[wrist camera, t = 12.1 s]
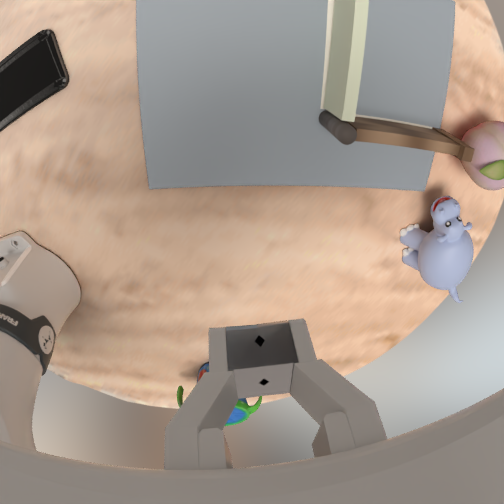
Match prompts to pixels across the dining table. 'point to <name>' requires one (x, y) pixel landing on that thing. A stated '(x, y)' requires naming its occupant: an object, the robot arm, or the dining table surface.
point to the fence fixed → (395, 135)
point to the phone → (30, 76)
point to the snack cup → (239, 411)
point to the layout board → (283, 91)
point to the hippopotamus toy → (440, 247)
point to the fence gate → (346, 57)
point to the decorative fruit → (486, 154)
